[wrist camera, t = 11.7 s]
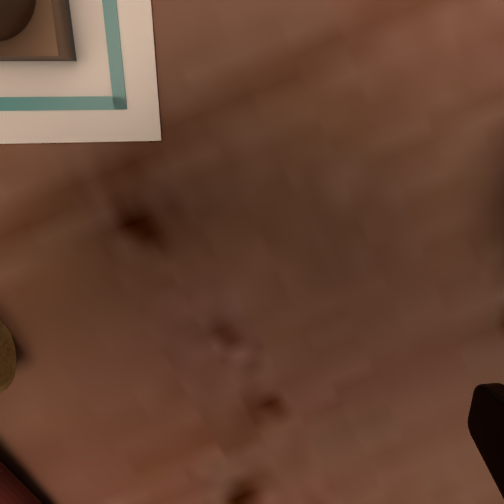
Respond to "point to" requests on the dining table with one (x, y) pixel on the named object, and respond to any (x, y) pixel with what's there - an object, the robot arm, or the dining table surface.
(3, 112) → the print card
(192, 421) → the dining table surface
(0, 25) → the stamp
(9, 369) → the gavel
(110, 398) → the dining table surface
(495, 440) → the robot arm
